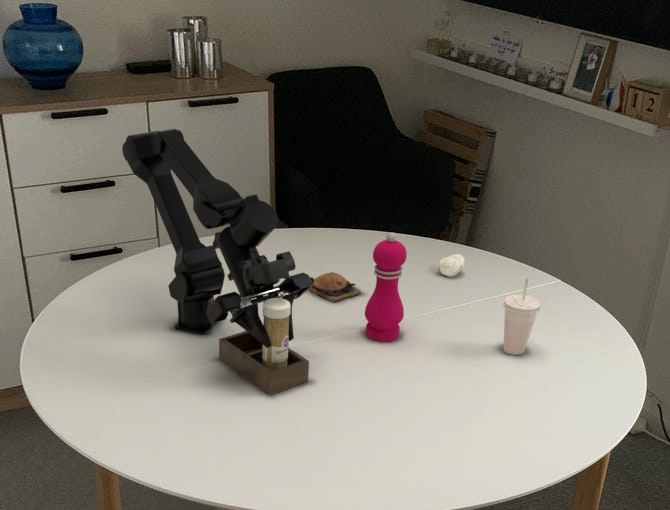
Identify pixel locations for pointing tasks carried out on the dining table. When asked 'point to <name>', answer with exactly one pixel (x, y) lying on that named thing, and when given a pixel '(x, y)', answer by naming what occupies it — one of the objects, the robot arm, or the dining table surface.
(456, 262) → the dumpling
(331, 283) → the burger on wooden board
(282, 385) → the wooden divided tray
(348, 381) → the dining table surface
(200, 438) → the dining table surface
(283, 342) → the sprinkles bottle
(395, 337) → the pepper mill
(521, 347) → the smoothie
